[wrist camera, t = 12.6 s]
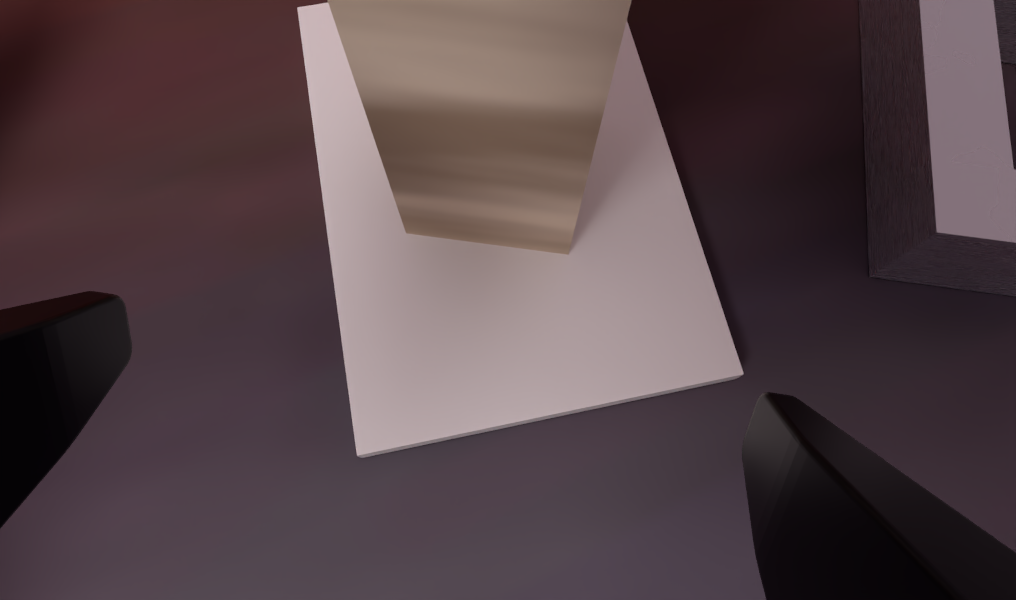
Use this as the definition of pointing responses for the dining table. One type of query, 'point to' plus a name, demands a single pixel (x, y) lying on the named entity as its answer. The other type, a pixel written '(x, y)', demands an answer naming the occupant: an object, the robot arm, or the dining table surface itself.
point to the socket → (939, 142)
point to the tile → (511, 281)
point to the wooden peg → (485, 109)
